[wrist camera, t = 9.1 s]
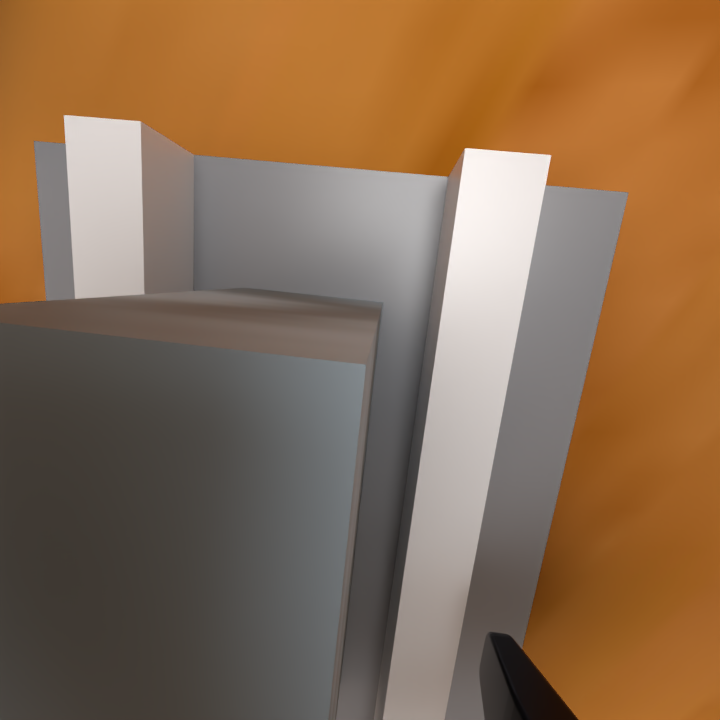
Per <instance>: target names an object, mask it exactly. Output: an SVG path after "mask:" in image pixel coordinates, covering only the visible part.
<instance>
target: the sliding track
mask: <svg viewBox="0 0 720 720" xmlns="http://www.w3.org/2000/svg"><path fill="white" fill-rule="evenodd" d="M64 125H65V141H66V144H62V143H50V142H39V141H34V148H35V161H36V174H37V187H38V200H39V213H40V226H41V239H42V252H43V265H44V278H45V291H46V301H51V300H66V299H81V298H96V297H111V296H126V295H141V294H156V293H171V292H186V291H201V290H216V289H231V288H253V289H263V290H272V291H282V292H291V293H300V294H310V295H319V296H329V297H338V298H348V299H357V300H367V301H376V302H383V307H382V316H381V325H380V334H379V343H378V352H377V360H376V369H375V378H374V387H373V396H372V405H371V414H370V423H369V432H368V441H367V450H366V459H365V468H364V476H363V485H362V494H361V503H360V512H359V521H358V530H357V539H356V548H355V557H354V566H353V575H352V584H351V593H350V601H349V610H348V619H347V628H346V637H345V646H344V655H343V664H342V673H341V682H340V690H339V699H338V707H337V715H336V720H485V719H484V711H483V703H482V696H481V688H480V679H479V667H480V661H481V656H482V651H483V646H484V642H485V637H486V635H487V633H488V632H498V633H505V634H508V635H510V636H511V637H512V638H513V639H514V640H515V641H516V642H517V644H518V645H519V646H520V647H521V649H522V647H523V642H524V638H525V634H526V629H527V625H528V621H529V617H530V612H531V608H532V604H533V599H534V595H535V591H536V587H537V582H538V578H539V574H540V569H541V565H542V561H543V557H544V552H545V548H546V544H547V539H548V535H549V531H550V527H551V522H552V518H553V514H554V510H555V505H556V501H557V497H558V492H559V488H560V484H561V480H562V475H563V471H564V467H565V462H566V458H567V454H568V450H569V445H570V441H571V437H572V432H573V428H574V424H575V420H576V415H577V411H578V407H579V402H580V398H581V394H582V390H583V385H584V381H585V377H586V372H587V368H588V364H589V360H590V355H591V351H592V347H593V342H594V338H595V334H596V330H597V325H598V321H599V317H600V312H601V308H602V304H603V300H604V295H605V291H606V287H607V282H608V278H609V274H610V270H611V265H612V261H613V257H614V253H615V248H616V244H617V240H618V235H619V231H620V227H621V223H622V218H623V214H624V210H625V205H626V201H627V197H628V193H627V192H616V191H604V190H593V189H581V188H570V187H558V186H547V185H546V180H547V175H548V169H549V164H550V159H551V155H542V154H530V153H518V152H506V151H493V150H481V149H469V148H465V149H464V151H463V153H462V155H461V156H460V158H459V160H458V161H457V163H456V165H455V167H454V168H453V170H452V172H451V173H450V175H449V177H443V176H431V175H420V174H408V173H397V172H385V171H373V170H362V169H350V168H339V167H327V166H316V165H304V164H293V163H281V162H270V161H258V160H246V159H235V158H223V157H212V156H200V155H193V154H192V153H190V152H189V151H187V150H185V149H184V148H182V147H181V146H179V145H177V144H176V143H174V142H173V141H171V140H169V139H168V138H166V137H165V136H163V135H161V134H160V133H158V132H157V131H155V130H154V129H152V128H150V127H149V126H147V125H146V124H144V123H142V122H141V121H130V120H118V119H106V118H93V117H81V116H69V115H64Z"/></svg>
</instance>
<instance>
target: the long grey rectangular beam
mask: <svg viewBox="0 0 720 720" xmlns="http://www.w3.org/2000/svg"><path fill="white" fill-rule="evenodd" d="M382 307H383V302H376V301H367V300H357V299H348V298H338V297H329V296H319V295H310V294H300V293H291V292H282V291H272V290H263V289H253V288H231V289H216V290H201V291H186V292H171V293H156V294H141V295H126V296H111V297H96V298H81V299H66V300H51V301H36V302H21V303H6V304H0V720H336V715H337V707H338V699H339V690H340V682H341V673H342V664H343V655H344V646H345V637H346V628H347V619H348V610H349V601H350V593H351V584H352V575H353V566H354V557H355V548H356V539H357V530H358V521H359V512H360V503H361V494H362V485H363V476H364V468H365V459H366V450H367V441H368V432H369V423H370V414H371V405H372V396H373V387H374V378H375V369H376V360H377V352H378V343H379V334H380V325H381V316H382Z"/></svg>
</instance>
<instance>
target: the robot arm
mask: <svg viewBox="0 0 720 720" xmlns="http://www.w3.org/2000/svg"><path fill="white" fill-rule="evenodd" d="M479 679H480V688H481V696H482V703H483V711H484V719H485V720H578V719H577V717H576V716H575V715H574V714H573V712H572V711H571V710H570V709H569V707H568V706H567V705H566V704H565V702H564V701H563V700H562V699H561V697H560V696H559V695H558V694H557V692H556V691H555V690H554V689H553V687H552V686H551V685H550V684H549V682H548V681H547V680H546V679H545V677H544V676H543V675H542V674H541V672H540V671H539V670H538V669H537V667H536V666H535V665H534V664H533V662H532V661H531V660H530V659H529V657H528V656H527V655H526V654H525V652H524V651H523V650H522V649H521V647H520V646H519V645H518V644H517V642H516V641H515V640H514V639H513V638H512V637H511V636H510V635H508V634H505V633H498V632H488V633H487V635H486V637H485V642H484V646H483V651H482V656H481V661H480V667H479Z"/></svg>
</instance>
